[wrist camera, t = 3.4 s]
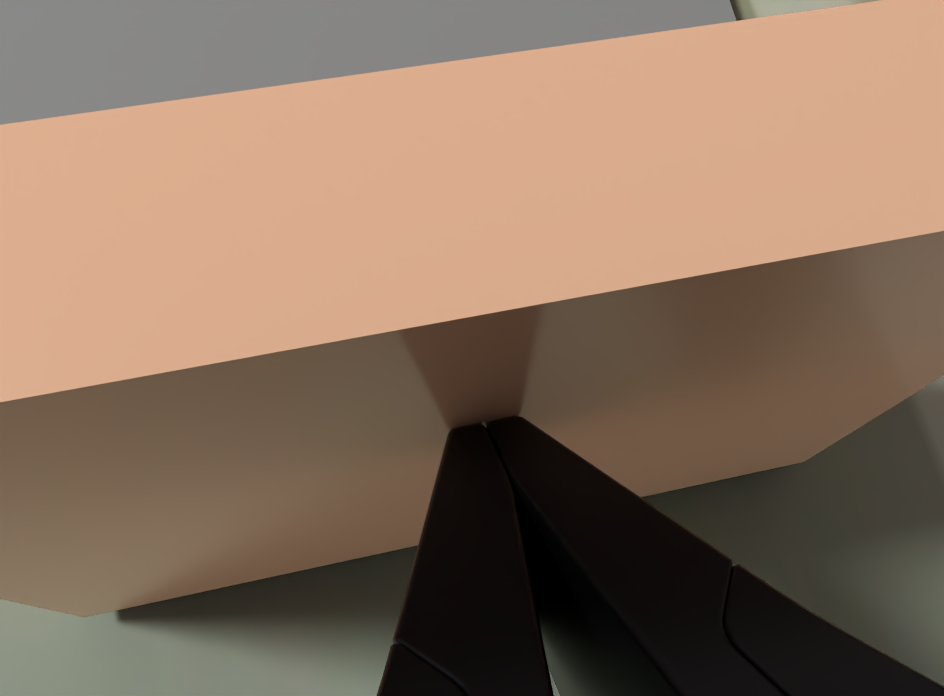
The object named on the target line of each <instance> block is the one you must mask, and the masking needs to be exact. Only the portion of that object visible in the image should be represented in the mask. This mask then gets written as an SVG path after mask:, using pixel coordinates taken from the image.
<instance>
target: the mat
mask: <svg viewBox="0 0 944 696" xmlns="http://www.w3.org/2000/svg"><path fill="white" fill-rule="evenodd" d="M733 21H736V18H735V15H734V12H733V9H732V6H731V3H730V0H0V125H3V124H10V123H17V122H24V121H31V120H38V119H45V118H52V117H59V116H66V115H74V114H81V113H88V112H95V111H102V110H109V109H116V108H123V107H130V106H137V105H145V104H152V103H159V102H166V101H173V100H180V99H187V98H194V97H201V96H208V95H215V94H223V93H230V92H237V91H244V90H251V89H258V88H265V87H272V86H279V85H286V84H293V83H301V82H308V81H315V80H322V79H329V78H336V77H343V76H350V75H357V74H364V73H371V72H379V71H386V70H393V69H400V68H407V67H414V66H421V65H428V64H435V63H442V62H449V61H457V60H464V59H471V58H478V57H485V56H492V55H499V54H506V53H513V52H520V51H527V50H535V49H542V48H549V47H556V46H563V45H570V44H577V43H584V42H591V41H598V40H605V39H613V38H620V37H627V36H634V35H641V34H648V33H655V32H662V31H669V30H676V29H683V28H691V27H698V26H705V25H712V24H719V23H726V22H733Z"/></svg>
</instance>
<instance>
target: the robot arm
mask: <svg viewBox="0 0 944 696" xmlns="http://www.w3.org/2000/svg"><path fill="white" fill-rule="evenodd" d="M548 667H549V669H548ZM549 670H550V672H551V674H552V677H553V679H554V682H555V684H556V686H557V689H558V691H559V694H560V696H944V686H942V685H940V684H939V683H937V682H935V681H933V680H931V679H930V678H928V677H926V676H924V675H922V674H920V673H919V672H917V671H915V670H913V669H911V668H910V667H908V666H906V665H904V664H902V663H901V662H899V661H897V660H895V659H893V658H892V657H890V656H888V655H886V654H884V653H882V652H881V651H879V650H877V649H875V648H873V647H872V646H870V645H868V644H866V643H864V642H863V641H861V640H859V639H857V638H856V637H854V636H852V635H851V634H849V633H847V632H845V631H844V630H842V629H840V628H839V627H837V626H835V625H833V624H832V623H830V622H828V621H826V620H825V619H823V618H821V617H820V616H818V615H816V614H814V613H813V612H811V611H810V610H808V609H806V608H805V607H803V606H802V605H800V604H799V603H797V602H796V601H794V600H792V599H791V598H789V597H788V596H786V595H785V594H783V593H782V592H780V591H778V590H777V589H775V588H774V587H772V586H771V585H769V584H768V583H766V582H765V581H763V580H762V579H760V578H759V577H757V576H756V575H754V574H753V573H751V572H750V571H748V570H747V569H746V568H744V567H743V566H741V565H739V564H737V565H735V566H734V562H733V560H732V559H730V558H729V557H727V556H726V555H724V554H723V553H722V552H720V551H719V550H717V549H716V548H714V547H713V546H711V545H710V544H708V543H707V542H705V541H704V540H702V539H701V538H700V537H698V536H697V535H695V534H694V533H692V532H691V531H689V530H688V529H686V528H685V527H683V526H682V525H680V524H679V523H677V522H676V521H675V520H673V519H672V518H670V517H669V516H667V515H666V514H664V513H663V512H661V511H660V510H658V509H657V508H655V507H654V506H653V505H651V504H650V503H648V502H647V501H645V500H644V499H642V498H641V497H639V496H638V495H636V494H635V493H633V492H632V491H631V490H629V489H628V488H626V487H625V486H623V485H622V484H620V483H619V482H617V481H616V480H614V479H613V478H611V477H610V476H608V475H607V474H606V473H604V472H603V471H601V470H600V469H598V468H597V467H595V466H594V465H592V464H591V463H589V462H588V461H586V460H585V459H584V458H582V457H581V456H579V455H578V454H576V453H575V452H573V451H572V450H570V449H569V448H567V447H566V446H564V445H563V444H562V443H560V442H559V441H557V440H556V439H554V438H553V437H551V436H550V435H548V434H547V433H545V432H544V431H542V430H541V429H539V428H538V427H537V426H535V425H534V424H532V423H531V422H529V421H528V420H526V419H525V418H523V417H520V416H513V417H509V418H504V419H499V420H494V421H490V422H488V423H487V425H486V427H485V426H484V425H482V424H474V425H469V426H464V427H458V428H454V429H451V430H450V431H449V433H448V435H447V439H446V442H445V446H444V450H443V454H442V457H441V461H440V465H439V469H438V472H437V476H436V480H435V484H434V487H433V491H432V495H431V499H430V502H429V506H428V510H427V514H426V517H425V521H424V525H423V529H422V532H421V536H420V540H419V544H418V547H417V551H416V555H415V559H414V562H413V566H412V570H411V574H410V577H409V581H408V585H407V589H406V592H405V596H404V600H403V604H402V607H401V611H400V615H399V619H398V622H397V626H396V630H395V634H394V637H393V645H392V646H391V647H390V651H389V654H388V658H387V662H386V666H385V669H384V673H383V677H382V680H381V683H380V686H379V690H378V693H377V696H554V695H553V690H552V685H551V679H550V674H549Z"/></svg>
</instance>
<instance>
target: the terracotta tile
mask: <svg viewBox="0 0 944 696" xmlns="http://www.w3.org/2000/svg"><path fill="white" fill-rule="evenodd" d="M943 375H944V0H882V1H875V2H868V3H861V4H854V5H847V6H839V7H832V8H825V9H818V10H811V11H804V12H797V13H790V14H783V15H776V16H769V17H761V18H754V19H747V20H740V21H733V22H726V23H719V24H712V25H705V26H698V27H691V28H683V29H676V30H669V31H662V32H655V33H648V34H641V35H634V36H627V37H620V38H613V39H605V40H598V41H591V42H584V43H577V44H570V45H563V46H556V47H549V48H542V49H535V50H527V51H520V52H513V53H506V54H499V55H492V56H485V57H478V58H471V59H464V60H457V61H449V62H442V63H435V64H428V65H421V66H414V67H407V68H400V69H393V70H386V71H379V72H371V73H364V74H357V75H350V76H343V77H336V78H329V79H322V80H315V81H308V82H301V83H293V84H286V85H279V86H272V87H265V88H258V89H251V90H244V91H237V92H230V93H223V94H215V95H208V96H201V97H194V98H187V99H180V100H173V101H166V102H159V103H152V104H145V105H137V106H130V107H123V108H116V109H109V110H102V111H95V112H88V113H81V114H74V115H66V116H59V117H52V118H45V119H38V120H31V121H24V122H17V123H10V124H3V125H0V599H3V600H7V601H12V602H16V603H21V604H25V605H30V606H35V607H39V608H44V609H48V610H53V611H57V612H62V613H67V614H71V615H76V616H80V617H88V616H93V615H97V614H102V613H107V612H111V611H116V610H121V609H125V608H130V607H134V606H139V605H144V604H148V603H153V602H158V601H162V600H167V599H172V598H176V597H181V596H185V595H190V594H195V593H199V592H204V591H209V590H213V589H218V588H222V587H227V586H232V585H236V584H241V583H246V582H250V581H255V580H260V579H264V578H269V577H273V576H278V575H283V574H287V573H292V572H297V571H301V570H306V569H310V568H315V567H320V566H324V565H329V564H334V563H338V562H343V561H348V560H352V559H357V558H361V557H366V556H371V555H375V554H380V553H385V552H389V551H394V550H398V549H403V548H408V547H412V546H417V545H418V544H419V540H420V536H421V532H422V529H423V525H424V521H425V517H426V514H427V510H428V506H429V502H430V499H431V495H432V491H433V487H434V484H435V480H436V476H437V472H438V469H439V465H440V461H441V457H442V454H443V450H444V446H445V442H446V439H447V435H448V433H449V431H450V430H451V429H454V428H458V427H464V426H469V425H474V424H482V425H484V426H485V427H486V425H487V423H488V422H490V421H494V420H499V419H504V418H509V417H513V416H520V417H523V418H525V419H526V420H528V421H529V422H531V423H532V424H534V425H535V426H537V427H538V428H539V429H541V430H542V431H544V432H545V433H547V434H548V435H550V436H551V437H553V438H554V439H556V440H557V441H559V442H560V443H562V444H563V445H564V446H566V447H567V448H569V449H570V450H572V451H573V452H575V453H576V454H578V455H579V456H581V457H582V458H584V459H585V460H586V461H588V462H589V463H591V464H592V465H594V466H595V467H597V468H598V469H600V470H601V471H603V472H604V473H606V474H607V475H608V476H610V477H611V478H613V479H614V480H616V481H617V482H619V483H620V484H622V485H623V486H625V487H626V488H628V489H629V490H631V491H632V492H633V493H635V494H636V495H638V496H639V497H644V496H649V495H653V494H658V493H662V492H667V491H672V490H676V489H681V488H686V487H690V486H695V485H700V484H704V483H709V482H713V481H718V480H723V479H727V478H732V477H737V476H741V475H746V474H750V473H755V472H760V471H764V470H769V469H774V468H778V467H783V466H788V465H792V464H797V463H801V462H805V461H806V460H808V459H809V458H811V457H813V456H814V455H816V454H817V453H819V452H821V451H822V450H824V449H826V448H827V447H829V446H830V445H832V444H834V443H835V442H837V441H838V440H840V439H842V438H843V437H845V436H847V435H848V434H850V433H851V432H853V431H855V430H856V429H858V428H859V427H861V426H863V425H864V424H866V423H868V422H869V421H871V420H872V419H874V418H876V417H877V416H879V415H880V414H882V413H884V412H885V411H887V410H889V409H890V408H892V407H893V406H895V405H897V404H898V403H900V402H901V401H903V400H905V399H906V398H908V397H910V396H911V395H913V394H914V393H916V392H918V391H919V390H921V389H922V388H924V387H926V386H927V385H929V384H931V383H932V382H934V381H935V380H937V379H939V378H940V377H942V376H943Z"/></svg>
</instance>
